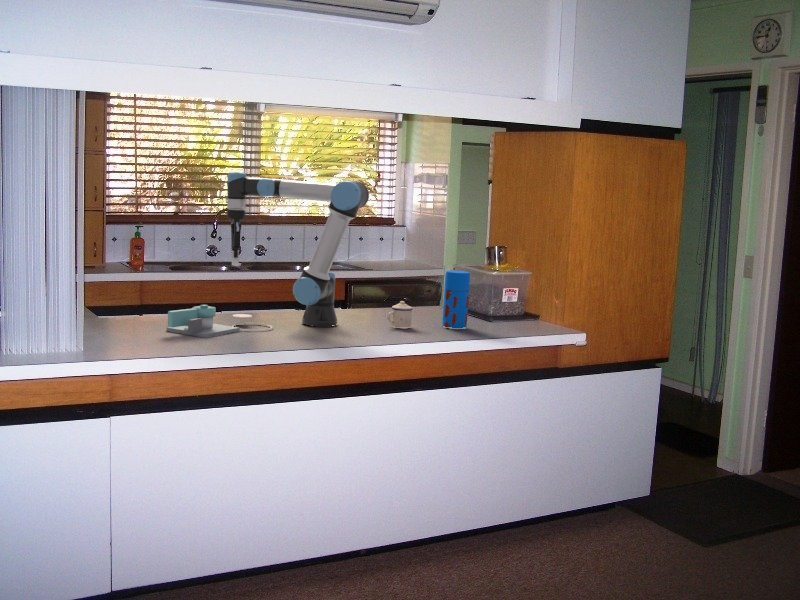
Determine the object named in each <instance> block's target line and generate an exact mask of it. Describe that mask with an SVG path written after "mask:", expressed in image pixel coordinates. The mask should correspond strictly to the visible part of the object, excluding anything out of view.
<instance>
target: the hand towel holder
mask: <svg viewBox="0 0 800 600" xmlns="http://www.w3.org/2000/svg"><path fill="white" fill-rule="evenodd" d="M252 316H253V315H252V314H247V313H246V314H245V313H236V314H232V317H233V318H234V319H235V318H236V319H240V323H235V324H232V325H231V326H232V327H234V326H235V327H237V326H236V325H244V326H258V325H261V327H266V326H267V328H262V329H244V328H240V331H239V332H245V331H250V332H249V333H263V332H262V331H265V332H270V331H272V330H273V329H274V327H273V325H271V324H267V323H262V322H260V323H259V322H245V319H250V318H252ZM269 327H270V328H269ZM269 330H270V331H269Z"/></svg>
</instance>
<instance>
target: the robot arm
mask: <svg viewBox="0 0 800 600" xmlns="http://www.w3.org/2000/svg"><path fill="white" fill-rule="evenodd" d="M226 182H227V183H226V185H227V198H226V199H227V200H226V201H225V203H226V204H227V206H226V207H227V210H226V218H227V219H230V220H231V223H230V228H231V229H230V235H231V241H230V242H231V247H230V250H231V266H237V267H238V266H239V265H240V264H239V262H240V261H239V260H240V250H241V247H240V246H241V244H240V243H241V234H242V233H241V232H242V231H241V230H242V223H241V221H240V220H245V219H246V210H245V209H246V205H247V203H246V198H247V196H253V197H262V198H265V197H276V198H288V199H298V200H306V201H307V200H308V201H316V202H317V201H320V202H329V205H328V210H329V215H328V218H327V220H326V222H325V224H324V228H323V230H322V232H321V235H320V237H319V239H318V243H317V245H316V247H315V250H314V252H313V254H312V257H311V260H310V261H309V262H310V263H309V265H308V266H305V267H304V268H303V269H302V272H301V275H300V277H299V278H297V279H296V280H295V282H294V284H293V285H292V293H293V296H294V298H295V300H296V301H297V302H298V303H300V304H301V305H303V306H304V305H305V306H306V307H305V310H304V312H303V315H302V319H301V324H302V323H303V324H306V325H305V326H307V325H313V326H312V327H314V326H332V325H336V324H337V325H338V317H337V314H336V311H335V290H336V274H335V273H334V272H331V271H330V270H331V268H332V266H333V262H334V260H335V258H336V256H337V253H338V251H339V249H340V245H341V244H342V241H343V239H344V236H345V233H346V231H347V229H348V226H349V224H350V222H351V220H353V219H356V217H357V215H358V212H359V209H361V208H363V207H365V206H366V205H367V203H368V202H369V199H370V191H369V188H368V187H367V186H366V185H365V184H364V183H363V182H361V181H356V180H350V179H349V180H348V179H346V180H342V181H339V182H337V183H326V182H325V183H324V182H314V181H303V180H292V179H291V180H290V179H282V178H281V179H280V178H279V179H277V178H273V177H272V178H270V177H269V178H267V177H248V176H247V174H246V173H245V172H239V171H238V172H236V171H234V172H233V171H230V172H228V174H227V181H226ZM303 324H302V325H303ZM337 325H336V326H337ZM332 327H333V326H332Z"/></svg>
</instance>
